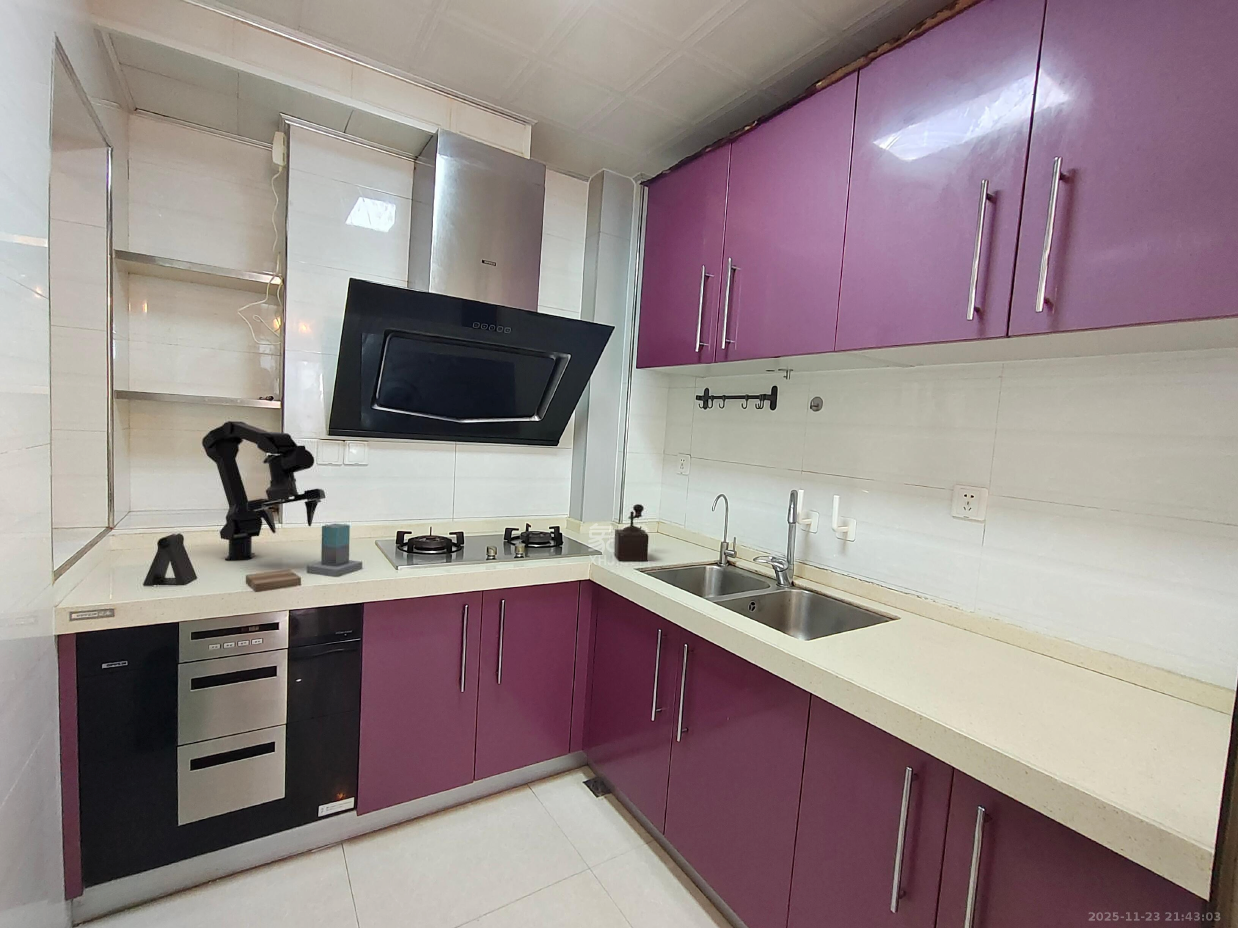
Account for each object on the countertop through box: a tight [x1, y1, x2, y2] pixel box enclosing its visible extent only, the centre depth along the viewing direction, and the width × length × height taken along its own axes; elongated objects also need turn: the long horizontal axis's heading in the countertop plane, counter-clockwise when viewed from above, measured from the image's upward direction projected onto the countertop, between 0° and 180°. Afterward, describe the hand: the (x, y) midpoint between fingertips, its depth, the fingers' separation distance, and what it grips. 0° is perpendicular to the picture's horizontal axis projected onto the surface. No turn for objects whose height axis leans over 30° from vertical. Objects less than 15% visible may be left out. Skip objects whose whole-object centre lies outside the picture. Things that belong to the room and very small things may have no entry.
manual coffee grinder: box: [613, 503, 649, 563], centre depth 194 cm, size 16×11×18 cm
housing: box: [320, 523, 351, 567], centre depth 157 cm, size 5×5×11 cm
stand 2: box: [306, 559, 363, 578], centre depth 157 cm, size 10×10×2 cm
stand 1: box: [245, 569, 302, 593], centre depth 142 cm, size 10×10×2 cm
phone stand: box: [142, 532, 198, 587], centre depth 139 cm, size 9×6×12 cm, turn 104°
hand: (292, 529), depth 156 cm, fingers open, 9 cm apart
